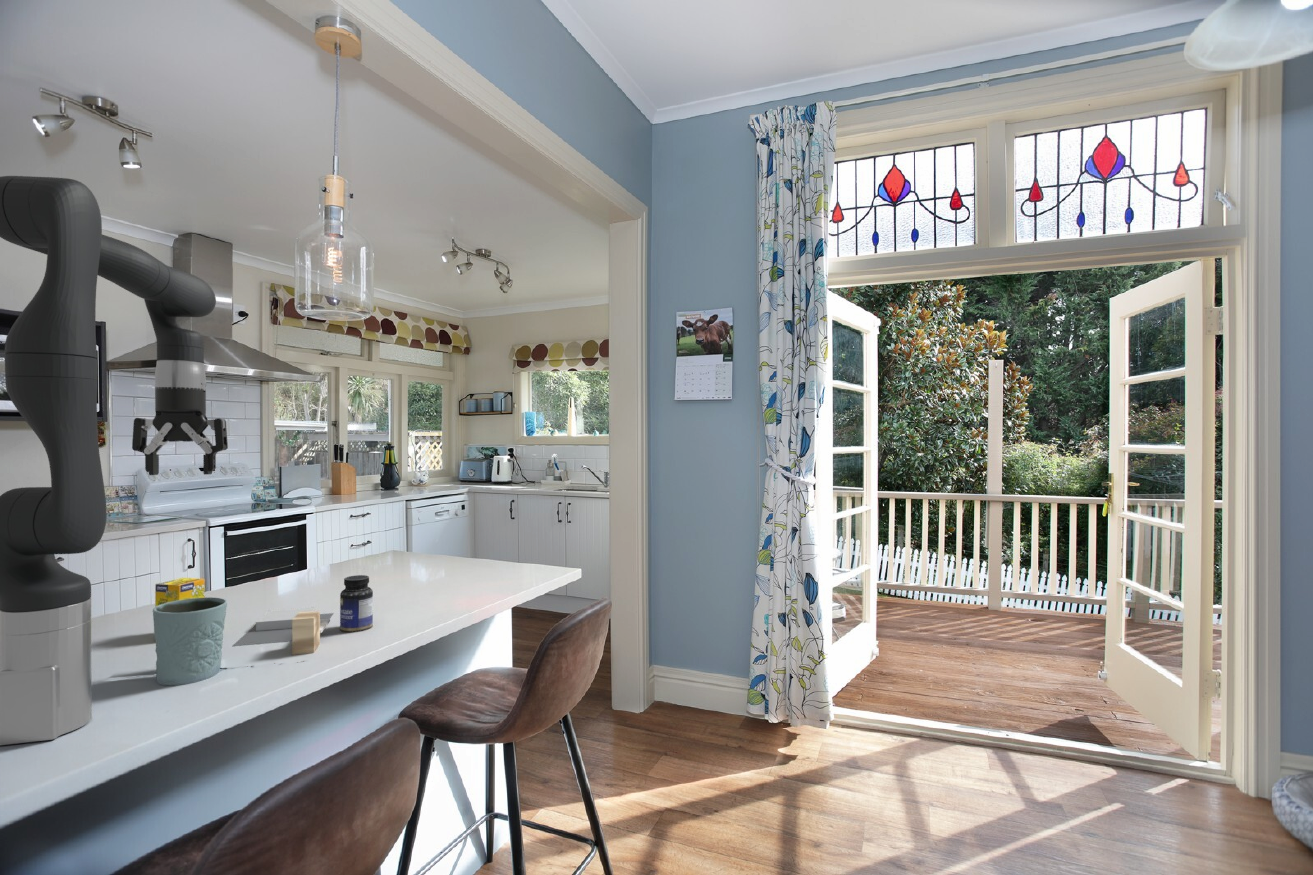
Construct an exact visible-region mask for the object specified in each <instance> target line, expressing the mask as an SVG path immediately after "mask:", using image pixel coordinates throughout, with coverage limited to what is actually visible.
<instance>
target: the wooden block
mask: <svg viewBox="0 0 1313 875" xmlns="http://www.w3.org/2000/svg"><path fill="white" fill-rule="evenodd" d="M320 614H321V610H315V611H310V612H299V613H298V614H297V615H296V616H295V617H294V618H293V619H292V641H291V643H292V650H291V651H292V652H291V654H292V656H294V655H295V656H296V655H306V654H314V653H315V652H316V651H317V650H318V648H319V647H320V645H321V634H322V633H323V632H324V630H325V629H326V628H327V626H328V625H329V623H330V622H331V618H330V619H321V620H320Z"/></svg>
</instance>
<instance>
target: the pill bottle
mask: <svg viewBox="0 0 1313 875" xmlns="http://www.w3.org/2000/svg"><path fill="white" fill-rule="evenodd" d="M369 583H370V577H369V576H368V575H365V574H361V575H360V574H357V575H350V576H347V577H344V578H343V585H344V586H345V587H344V589H343V590H342V591H341V592H340V594H339V604H340V605H339V631H340V632H341V633H346V634H348V633H349V634H351V633H359V632H365V631H368V630H370V629H372V628H374V625H373V624H374V620H373V618H374V616H373V615H374V614H373V613H374V612H373V611H374V610H373V608H374V607H373V606H374V604H373V603H374V600H373V598H374V594H373V593H374V590H373V588H371V587H369Z"/></svg>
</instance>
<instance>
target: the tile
mask: <svg viewBox="0 0 1313 875" xmlns="http://www.w3.org/2000/svg"><path fill="white" fill-rule="evenodd" d="M310 611H316V607H315V606H314V607H299V608H285V609H271V610H268V611H267V612H266V613H264V614H263V615H262V616H261V617H260V618H259V619H257V621H255V625H256V631H263V630H276V629H289V628H292V619H293V618H294V617H295V616H296V615H297V614H298V613H299V612H310Z"/></svg>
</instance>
